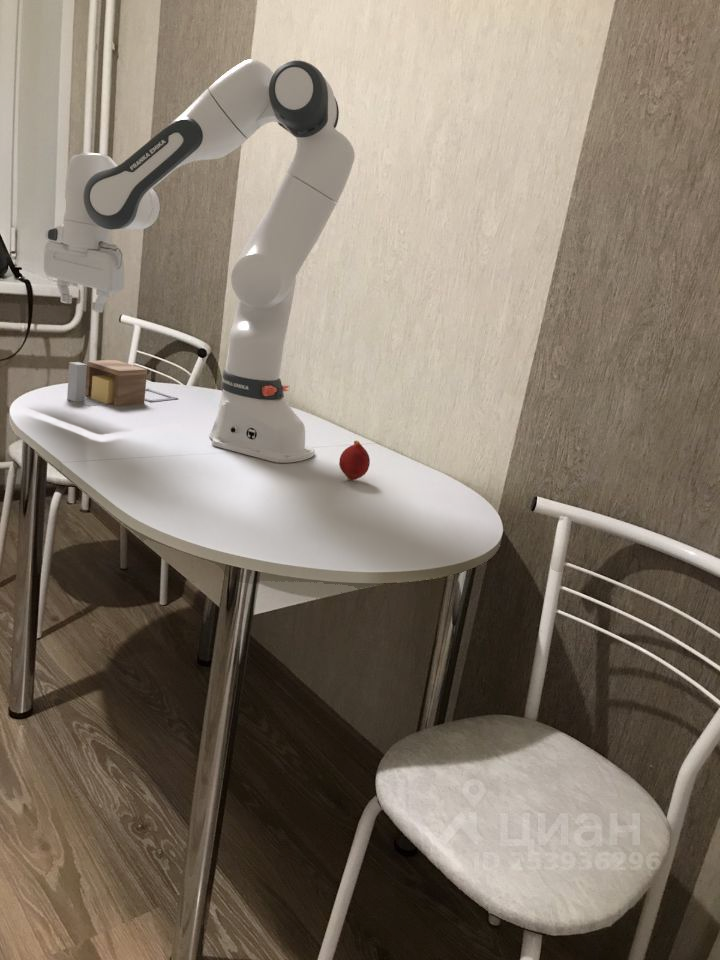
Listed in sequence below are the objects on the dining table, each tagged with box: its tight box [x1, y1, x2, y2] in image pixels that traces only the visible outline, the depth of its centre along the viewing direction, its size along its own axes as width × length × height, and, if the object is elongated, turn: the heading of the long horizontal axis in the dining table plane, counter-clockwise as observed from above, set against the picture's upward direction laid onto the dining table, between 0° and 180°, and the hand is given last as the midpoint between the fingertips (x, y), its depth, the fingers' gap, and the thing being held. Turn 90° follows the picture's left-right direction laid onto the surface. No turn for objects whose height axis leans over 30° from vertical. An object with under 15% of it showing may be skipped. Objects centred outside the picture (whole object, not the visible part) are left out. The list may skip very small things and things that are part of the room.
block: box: [90, 375, 116, 403], centre depth 163 cm, size 5×5×5 cm
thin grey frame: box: [144, 388, 179, 403], centre depth 175 cm, size 10×9×2 cm
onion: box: [338, 440, 371, 482], centre depth 141 cm, size 6×6×8 cm
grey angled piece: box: [66, 361, 114, 408], centre depth 163 cm, size 6×15×9 cm, turn 150°
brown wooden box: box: [85, 359, 148, 407], centre depth 165 cm, size 10×8×9 cm
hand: (81, 307), depth 153 cm, fingers open, 8 cm apart
